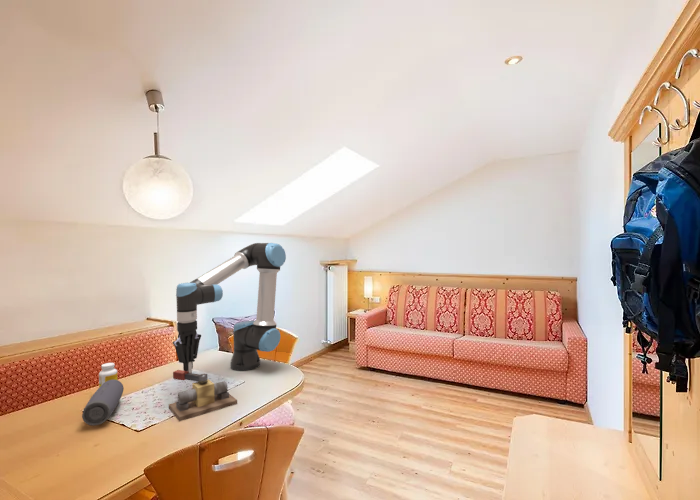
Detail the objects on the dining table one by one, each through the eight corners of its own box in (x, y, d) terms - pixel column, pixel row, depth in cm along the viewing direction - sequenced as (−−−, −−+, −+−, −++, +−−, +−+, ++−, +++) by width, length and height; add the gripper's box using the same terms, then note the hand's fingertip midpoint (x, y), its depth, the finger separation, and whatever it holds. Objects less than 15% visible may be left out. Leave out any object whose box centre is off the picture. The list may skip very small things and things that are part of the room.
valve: (223, 392, 160) (223, 372, 159) (237, 403, 149) (237, 381, 149) (168, 407, 145) (168, 385, 145) (179, 421, 135) (179, 396, 134)
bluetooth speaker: (98, 404, 149) (98, 379, 149) (125, 400, 152) (124, 376, 152) (80, 431, 128) (79, 403, 127) (111, 426, 131) (110, 398, 131)
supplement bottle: (121, 391, 161) (120, 362, 161) (110, 397, 155) (109, 367, 154) (107, 390, 162) (106, 361, 162) (95, 396, 155) (94, 366, 155)
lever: (209, 381, 148) (209, 374, 148) (203, 384, 145) (203, 377, 145) (178, 376, 153) (178, 369, 153) (172, 379, 150) (172, 372, 150)
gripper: (181, 325, 144) (182, 385, 144) (205, 318, 155) (207, 373, 156) (167, 323, 146) (168, 382, 147) (192, 316, 158) (193, 371, 159)
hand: (188, 377), depth 152 cm, fingers closed
